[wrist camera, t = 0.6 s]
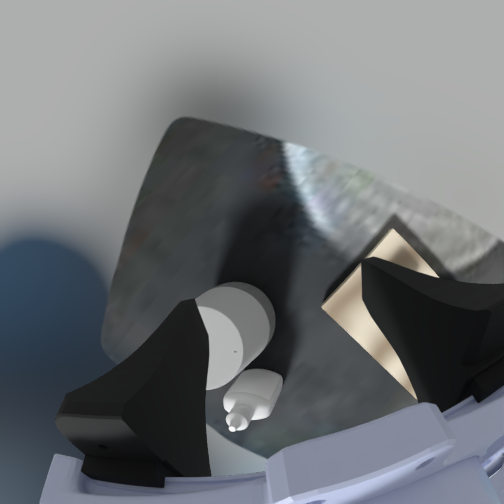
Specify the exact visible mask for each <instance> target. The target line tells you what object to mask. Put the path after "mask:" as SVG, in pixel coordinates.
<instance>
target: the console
mask: <svg viewBox="0 0 504 504" xmlns="http://www.w3.org/2000/svg"><path fill="white" fill-rule="evenodd" d="M373 256H374V257H378V258H381V259H384V260H387V261H390V262H393V263H395V264H398V265H401V266H403V267H406V268H409V269H412V270H415V271H418V272H421V273H424V274H427V275H430V276H434V277H438V275H437V274H436V273H435V272H434V271H433V270H432V269H431V268H430V267H429V265H428V264H427V263H426V262H425V261H424V260H423V259H422V258H421V257H420V256H419V255H418V254H417V252H416V251H415V250H414V249H413V248H412V247H411V246H410V245H409V244H408V243H407V242H406V241H405V240H404V239H403V238H402V237H401V236H400V235H399V234H398V233H397V232H396V231H395V230H394V229H389V231H388V232H387V233H386V234H385V235H384V237H383V238H382V239H381V240H380V241H379V242H378V244H377V245H376V246H375V247H374V248H373V249H372V250H371V252H370V253H369V254H368V255H367V256H366V257H365V258H369V257H373ZM365 258H364V259H365ZM438 278H439V277H438ZM321 307H322V308H323V309H324V310H325V311H326V312H327V313H328V314H329V315H330V316H331V317H332V318H333V319H334V320H335V321H336V322H337V323H338V324H339V325H340V326H341V327H342V328H343V329H345V330H346V331H347V332H348V333H349V334H350V335H351V336H352V337H353V338H354V339H355V340H356V341H357V342H358V343H359V344H360V345H361V346H362V347H363V348H364V349H365V350H366V351H367V352H368V353H369V354H371V355H372V356H373V357H374V358H375V359H376V360H377V361H378V362H379V363H380V364H381V365H382V366H383V367H384V368H385V369H386V370H387V371H388V372H389V373H390V374H391V375H392V376H393V377H394V378H395V379H396V380H397V381H398V382H399V383H400V384H402V385H403V386H404V387H405V388H406V389H407V390H408V391H409V392H410V393H411V394H412V395H413V396H414V397H415V398H416V399H417V397H416V394H415V392H414V389H413V387H412V385H411V382H410V380H409V378H408V376H407V373H406V371H405V369H404V367H403V365H402V363H401V361H400V359H399V357H398V356H397V354H396V352H395V351H394V349H393V348H392V346H391V345H390V343H389V342H388V340H387V339H386V338H385V336H384V335H383V333H382V332H381V330H380V329H379V328H378V326H377V325H376V323H375V322H374V320H373V319H372V317H371V316H370V314H369V312H368V310H367V308H366V306H365V304H364V302H363V300H362V277H361V263H360V264H359V265H358V266H357V267H356V268H355V269H354V271H353V272H352V273H351V274H350V275H349V276H348V277H347V278H346V279H345V280H344V281H343V282H342V283H341V284H340V286H339V287H338V288H337V289H336V290H335V291H334V292H333V293H332V294H331V295H330V296H329V297H328V298H327V299H326V300H325V301H324V302H323V303H322V306H321Z"/></svg>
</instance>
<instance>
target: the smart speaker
mask: <svg viewBox="0 0 504 504" xmlns="http://www.w3.org/2000/svg"><path fill="white" fill-rule="evenodd" d="M195 301H196V304H197V306H198V309H199V312H200V314H201V317H202V320H203V322H204V325H205V327H206V330H207V332H208V335H209V354H210V355H209V366H208V376H207V386H206V390H210V389H215V388H218V387H221V386H223V385H225V384H226V383H228V382H229V381H230V380H232V379H233V378H234V377H235V376H236V375H237V374H238V373H239V372H241V371H242V370H243V369H244V368H245V367H246V366H247V365H248V364H249V363H250V362H252V361H253V360H254V359H255V358H256V357H257V356H258V355H259V354H260V353H261V352H262V351H263V350H264V349H265V347H266V346H267V345H268V343H269V342H270V340H271V338H272V336H273V333H274V330H275V321H276V319H275V312H274V308H273V306H272V304H271V302H270V300H269V299H268V297H267V296H266V295H265V294H264V293H263V292H262V291H261V290H259V289H258V288H256V287H255V286H252V285H250V284H247V283H242V282H229V283H224V284H221V285H218V286H216V287H214V288H212V289H210V290H208V291H207V292H205V293H204V294H202V295H201V296H199V297H198V298H196V299H195Z"/></svg>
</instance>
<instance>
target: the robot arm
mask: <svg viewBox="0 0 504 504" xmlns="http://www.w3.org/2000/svg"><path fill="white" fill-rule="evenodd" d="M361 277H362V300H363V302H364V304H365V306H366V308H367V310H368V312H369V314H370V316H371V317H372V319H373V320H374V322H375V323H376V325H377V326H378V328H379V329H380V330H381V332H382V333H383V335H384V336H385V338H386V339H387V340H388V342H389V343H390V345H391V346H392V348H393V349H394V351H395V352H396V354H397V356H398V357H399V359H400V361H401V363H402V365H403V367H404V369H405V371H406V373H407V376H408V378H409V380H410V382H411V385H412V387H413V389H414V392H415V394H416V397H417V400H418V402H419V404H416V405H413V406H409V407H406V408H404V409H401V410H399V411H396V412H394V413H391V414H389V415H386V416H384V417H381V418H379V419H376V420H373V421H370V422H368V423H365V424H362V425H359V426H356V427H353V428H350V429H346V430H343V431H340V432H336V433H333V434H330V435H326V436H322V437H318V438H314V439H310V440H306V441H303V442H301V443H298V444H295V445H292V446H288V447H285V448H283V449H282V450H280V451H279V452H277V453H276V454H274V455H273V456H271V457H270V458H269V459H268V460H267V463H266V467H265V471H263V472H256V473H249V474H239V475H228V476H214V477H211V470H210V464H209V455H208V447H207V434H206V417H205V396H206V386H207V376H208V366H209V355H210V354H209V335H208V332H207V330H206V327H205V325H204V322H203V320H202V317H201V314H200V312H199V309H198V306H197V304H196V301H195V298H194V299H189V300H185V301H181V302H180V303H179V304H178V305H177V306H176V307H175V308H174V309H173V311H172V312H171V313H170V314H169V315H168V317H167V318H166V319H165V320H164V321H163V323H162V324H161V325H160V326H159V327H158V328H157V330H156V331H155V332H154V333H153V334H152V335H151V336H150V337H149V338H148V339H147V340H146V341H145V342H144V343H143V344H142V345H141V346H140V347H139V348H138V349H137V350H136V351H135V352H134V353H133V354H131V355H130V356H129V357H128V358H127V359H125V360H124V361H123V362H121V363H120V364H119V365H117V366H116V367H114V368H113V369H112V370H111V371H109V372H107V373H106V374H104V375H103V376H101V377H99V378H97V379H96V380H94V381H92V382H90V383H89V384H87V385H85V386H82V387H81V388H78V389H76V390H74V391H72V392H69V393H67V394H66V395H65V397H64V399H63V402H62V404H61V406H60V408H59V411H58V413H57V415H56V418H55V422H56V425H57V427H58V429H59V430H60V432H61V433H62V434H63V435H64V436H65V437H66V438H67V439H68V440H69V441H70V442H72V444H74V445H75V446H76V447H77V448H78V449H79V450H80V451H81V452H83V453H84V454H85V458H84V462H83V461H82V460H79V459H77V458H74V457H68V456H64V455H60V454H55V455H54V458H53V461H52V463H51V466H50V469H49V473H48V476H47V479H46V482H45V485H44V489H43V492H42V496H41V499H40V504H504V457H503V456H504V284H476V283H466V282H458V281H452V280H447V279H443V278H438V277H434V276H430V275H427V274H424V273H421V272H418V271H415V270H412V269H409V268H406V267H403V266H401V265H398V264H395V263H393V262H390V261H387V260H384V259H381V258H378V257H374V256H373V257H369V258H365V259H361ZM502 454H503V455H502ZM500 468H501V469H500ZM499 469H500V470H499ZM497 470H499V471H498V472H497V473H496V474H495V475H494V476H493V477H491V478H490V479H489V477H490V476H491V475H493V474H494V473H495V472H496V471H497Z"/></svg>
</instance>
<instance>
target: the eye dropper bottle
mask: <svg viewBox="0 0 504 504" xmlns="http://www.w3.org/2000/svg"><path fill="white" fill-rule="evenodd" d="M282 384H283V378H282V376H281V375H279V374H278V373H275V372H273V371H270V370H266V369H249V370H245V371H244V372H242V374H241V375H240V376H239V377H238V379H237V380H236V381H235V382H234V384H233V385H232V386H231V388H230V389H229V390H228V392H227V393H226V394H225V396H224V408H225V410H226V411H227V412H229V414H228V415H227V417H226V422H227V424H228V425H229V430H230V431H233V432H234V431H235V430H244V429H246V428H247V426H248V425H249V423H250V421H251V420H257V419H263V418H266V417H268V416H269V415H270V414H271V412H272V410H273V407H274V405H275V403H276V401H277V399H278V396H279V394H280V392H281V389H282Z"/></svg>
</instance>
